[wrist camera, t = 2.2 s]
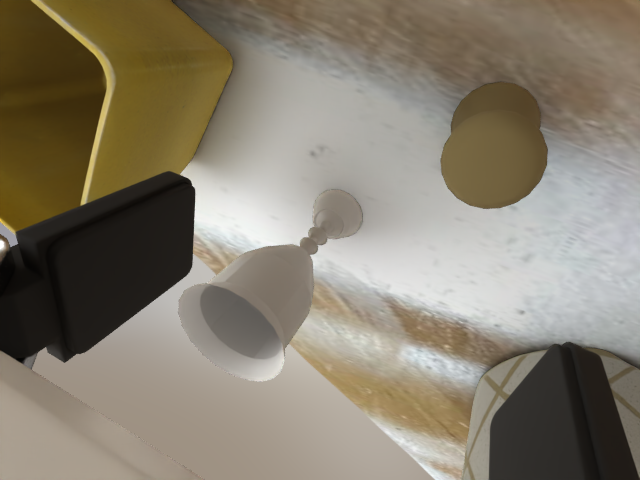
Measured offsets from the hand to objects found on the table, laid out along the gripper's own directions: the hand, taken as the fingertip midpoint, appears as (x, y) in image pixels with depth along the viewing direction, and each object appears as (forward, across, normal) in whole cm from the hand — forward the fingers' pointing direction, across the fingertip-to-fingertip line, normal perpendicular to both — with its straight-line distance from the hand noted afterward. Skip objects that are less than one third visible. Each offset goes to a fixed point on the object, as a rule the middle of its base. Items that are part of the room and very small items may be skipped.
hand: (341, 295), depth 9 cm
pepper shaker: (+24, -3, -1) cm, 24 cm away
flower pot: (+24, +27, +4) cm, 36 cm away
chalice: (+24, +6, +11) cm, 27 cm away
